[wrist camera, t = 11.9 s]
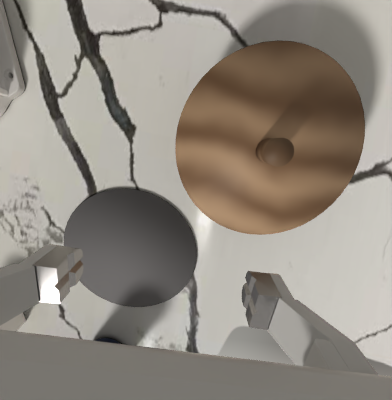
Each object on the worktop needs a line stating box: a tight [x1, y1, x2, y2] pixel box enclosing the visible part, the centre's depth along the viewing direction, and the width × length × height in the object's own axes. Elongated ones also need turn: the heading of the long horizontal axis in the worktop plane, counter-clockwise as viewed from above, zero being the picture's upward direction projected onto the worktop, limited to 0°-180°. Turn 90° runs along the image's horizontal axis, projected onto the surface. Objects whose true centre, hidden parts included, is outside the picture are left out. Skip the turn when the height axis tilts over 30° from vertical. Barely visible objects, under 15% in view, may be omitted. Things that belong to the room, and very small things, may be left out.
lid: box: [176, 41, 365, 235], centre depth 25 cm, size 25×25×5 cm
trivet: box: [64, 189, 197, 307], centre depth 40 cm, size 27×27×1 cm
